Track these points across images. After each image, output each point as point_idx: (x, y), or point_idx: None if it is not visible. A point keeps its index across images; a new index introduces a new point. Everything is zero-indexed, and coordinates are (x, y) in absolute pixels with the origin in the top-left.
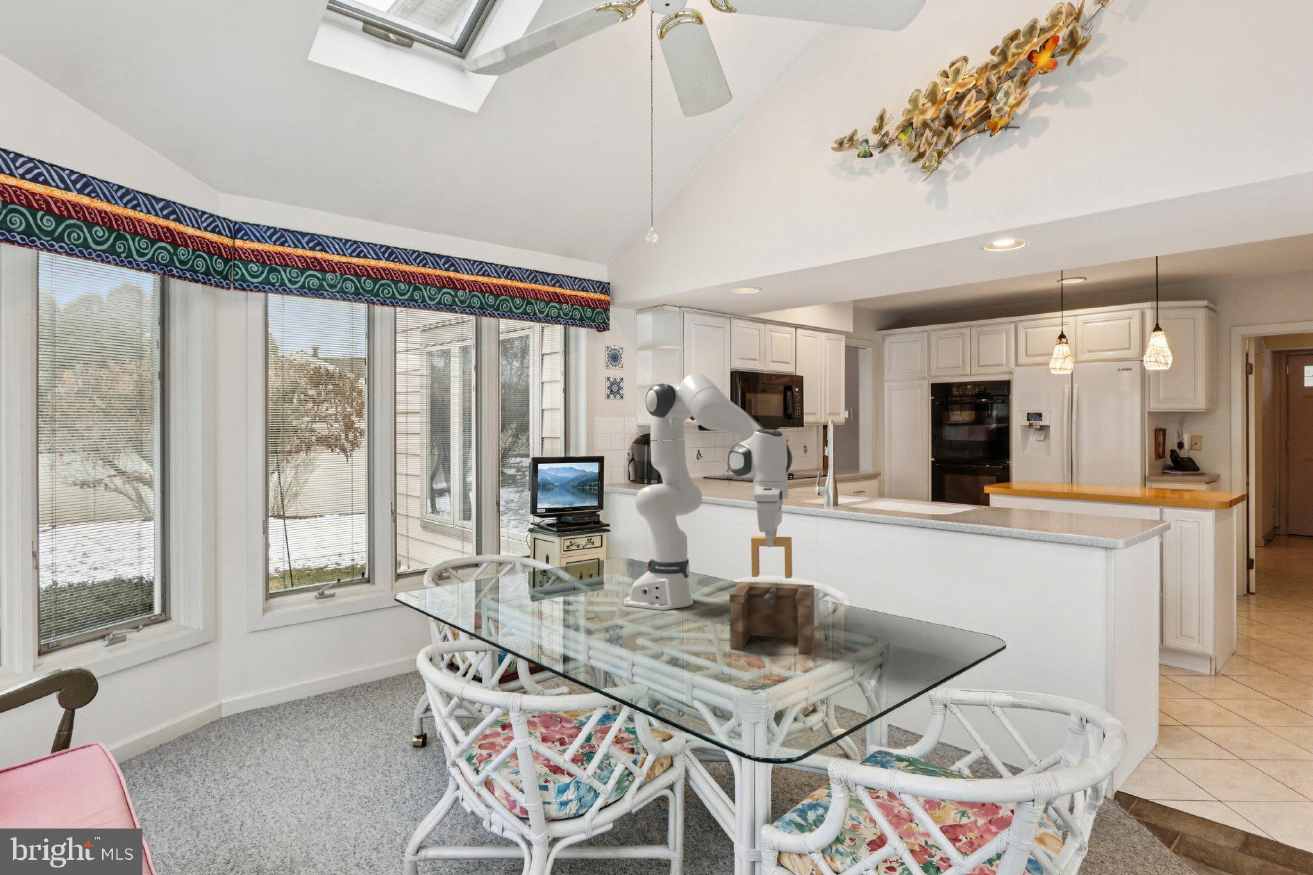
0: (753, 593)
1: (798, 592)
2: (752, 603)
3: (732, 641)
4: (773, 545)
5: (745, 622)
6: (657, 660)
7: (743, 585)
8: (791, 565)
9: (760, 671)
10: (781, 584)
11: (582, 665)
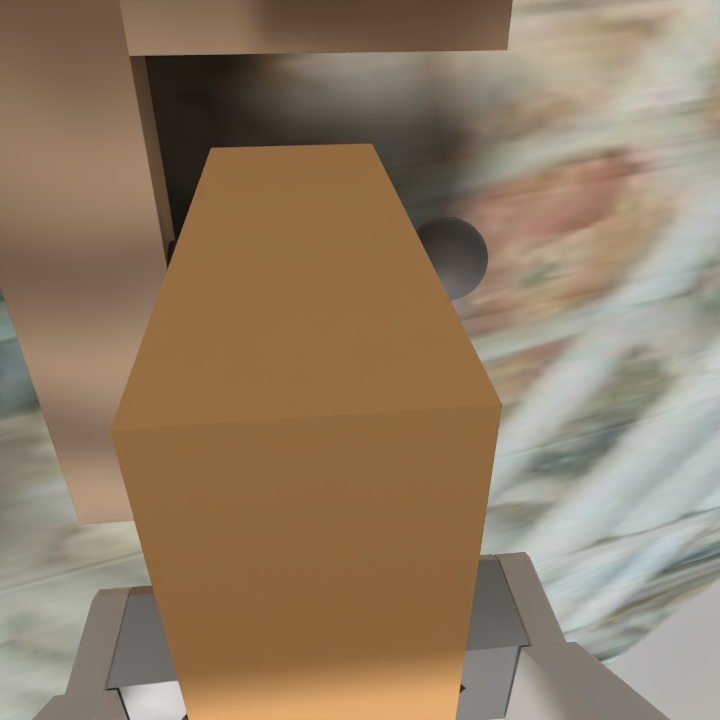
0: None
1: (303, 42)
2: None
3: None
4: (495, 559)
5: None
6: (561, 501)
7: None
8: (287, 185)
9: (675, 157)
10: (25, 243)
11: (612, 628)
